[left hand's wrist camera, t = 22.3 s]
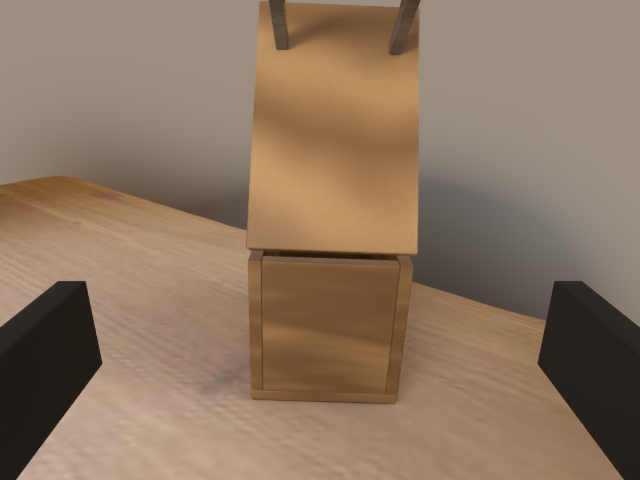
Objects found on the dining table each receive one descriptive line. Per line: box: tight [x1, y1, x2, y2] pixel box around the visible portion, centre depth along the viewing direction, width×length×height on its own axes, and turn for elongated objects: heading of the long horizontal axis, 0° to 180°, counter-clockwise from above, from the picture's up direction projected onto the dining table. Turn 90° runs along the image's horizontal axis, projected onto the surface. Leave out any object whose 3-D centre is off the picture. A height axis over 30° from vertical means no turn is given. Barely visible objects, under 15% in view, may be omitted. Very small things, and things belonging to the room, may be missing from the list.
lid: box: [246, 0, 420, 256], centre depth 21 cm, size 14×9×9 cm
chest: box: [248, 251, 414, 404], centre depth 32 cm, size 13×9×9 cm
